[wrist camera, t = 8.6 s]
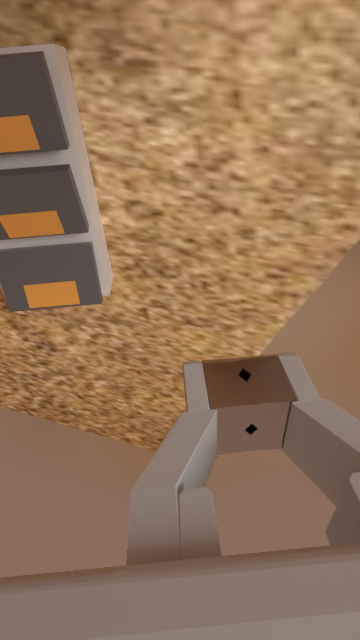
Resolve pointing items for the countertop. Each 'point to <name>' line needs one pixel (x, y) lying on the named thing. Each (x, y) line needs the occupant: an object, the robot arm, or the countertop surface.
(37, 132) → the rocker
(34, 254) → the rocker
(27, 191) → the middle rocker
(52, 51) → the rocker switch box
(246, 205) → the countertop surface
